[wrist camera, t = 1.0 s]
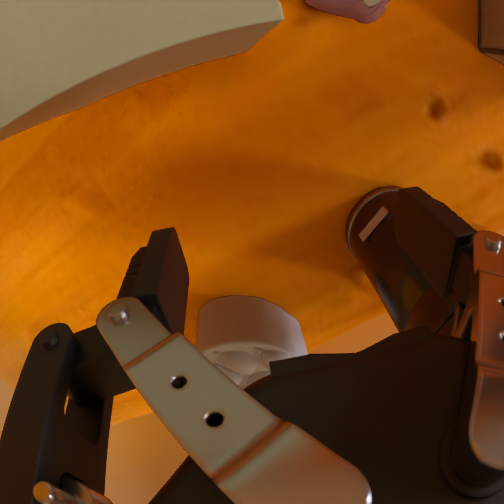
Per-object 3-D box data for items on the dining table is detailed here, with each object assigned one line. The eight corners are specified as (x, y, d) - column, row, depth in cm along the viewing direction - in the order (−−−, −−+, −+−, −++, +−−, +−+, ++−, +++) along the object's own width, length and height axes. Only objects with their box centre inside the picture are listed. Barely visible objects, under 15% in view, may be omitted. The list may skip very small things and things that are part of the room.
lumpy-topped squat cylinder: (257, 368, 44) (264, 420, 37) (179, 330, 39) (173, 387, 32) (311, 326, 40) (327, 380, 33) (230, 277, 35) (234, 335, 28)
